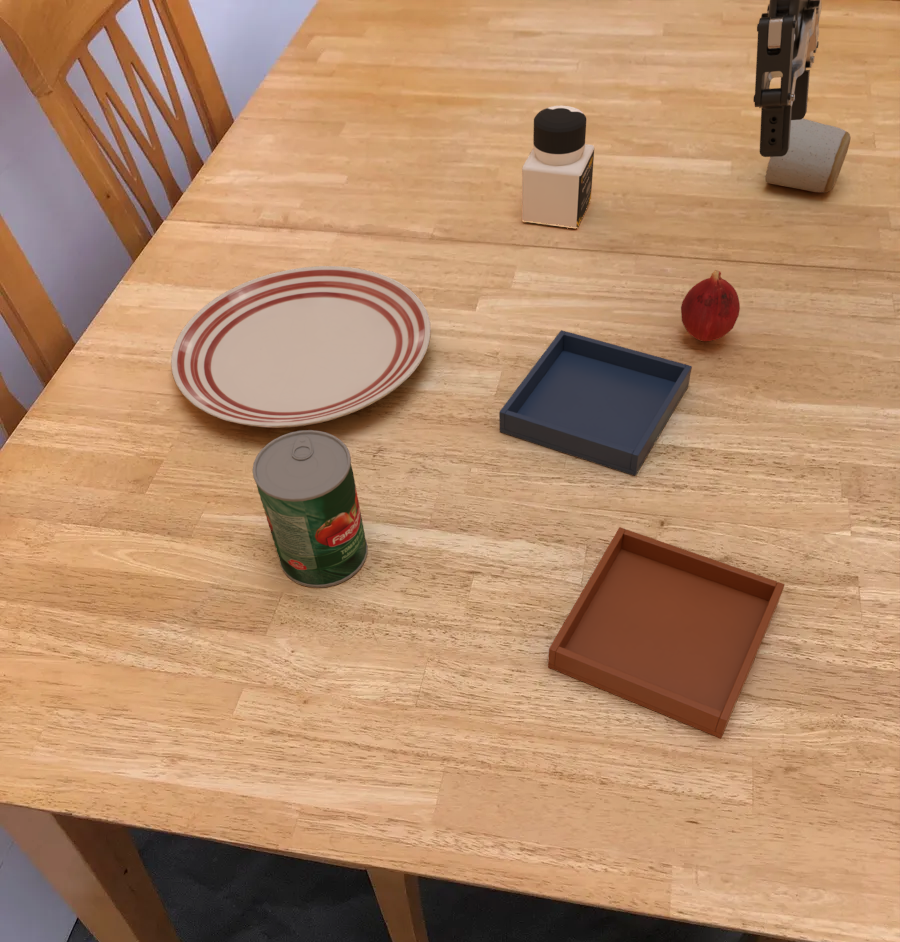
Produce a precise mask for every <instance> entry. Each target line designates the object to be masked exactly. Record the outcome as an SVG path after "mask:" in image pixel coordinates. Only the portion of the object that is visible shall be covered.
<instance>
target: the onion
mask: <svg viewBox="0 0 900 942" xmlns="http://www.w3.org/2000/svg"><path fill="white" fill-rule="evenodd" d="M740 305H741V303H740V299H739V295H738V292H737V291H736V289H735V287H734V286H733V285H732V284H731V283H730V282H729V281H727V280H726V279H724V278H722V271H720V270H718V269H714V271H713V272H712V273H711V274H710V276H709V277H708V278H704V279H702V280H701V281H699V282H697V283H696V284H694V285H693V286H691V288H690V289H689V290H688V292H687V293H686V295H684V298H683V300H682V301H681V305H680V312H681V322H682V324H683V327H684V328H685V330H686V332H687V333H688V334H689V335H690V336H692V338H694V339H696V340H698V341H701V342H711V341H715V340H719V339H721V338H723V337H725V336H726V335H727V334H729V332H731V330H733V329H734V327H735V325H736V322H737V320H738V318H739V316H740V310H741V306H740Z"/></svg>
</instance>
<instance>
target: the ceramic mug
mask: <svg viewBox="0 0 900 942" xmlns="http://www.w3.org/2000/svg"><path fill="white" fill-rule="evenodd" d="M850 143H851V134H850V133H849V131H847V130H845V129H843V128H840V127H838V126H834V125H829V124H825V123H821V122H817V121H814V120H810V119H807V118H802V119H800V120H791V128H790V144H789V149H788V152H787V153H786V155H784V156H780V157H769V161H768V164H767V167H766V172H765V182H766V183H767V184H771V185H775V186H781V187H786V188H791V189H798V190H802V191H808V192H813V193H828V192H830V191H831V190H833V188H835V187H834V186H835V185H836V183H837V179H838V178H839V175H840V173H841V170H842V167H843V165H844V162H845V159H846V156H847V154H848V150H849V147H850Z"/></svg>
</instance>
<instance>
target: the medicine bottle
mask: <svg viewBox="0 0 900 942" xmlns="http://www.w3.org/2000/svg"><path fill="white" fill-rule="evenodd" d="M586 133H587V116H586V115H585V114H584V112H583V111H582V110H581V109H579V108H577V107H573V106H570V105H552V106H549V107H546V108H543V109H542V110H540V111H539V112H537V114H536V115H535V116H534V118H533V139H532V140H533V142H532V143H533V145H532V149H531V151H530V153H529V155H528V156H527V158H526V160H525V162H524V163H523V165H522V168H521V221H522V220H524V221H533V222H541V223H546V224H547V223H548V224H556V225H558V224H559V225H564V226H569V227H571V226H572V227H578V226H579V227H580V225H579V224H581V223H580V221H581V222H582V220H583V218H584V216H585V214H584V213H586V212H587V209H588V207H589V205H590V203H591V201H590V199H591V200H592V189H593V175H594V174H593V173H594V162H595V161H594V159H595V145H593V144H588V143H587V144H586V137H587V136H586V135H587V134H586ZM589 202H590V203H589ZM588 204H589V205H588ZM586 208H587V209H586ZM585 211H586V212H585ZM583 215H584V216H583ZM582 217H583V218H582ZM581 219H582V220H581ZM579 227H578V228H579Z"/></svg>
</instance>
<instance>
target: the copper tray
mask: <svg viewBox="0 0 900 942" xmlns="http://www.w3.org/2000/svg"><path fill="white" fill-rule="evenodd" d="M784 588H785V583H782V582H780V581H777V580H774V579H772V578H768V577H766V576H762V575H759V574H756V573H753V572H750V571H748V570H745V569H743V568H739V567H736V566H734V565H730V564H728V563H725V562H722V561H719V560H716V559H713V558H710V557H708V556H704V555H702V554H699V553H696V552H693V551H690V550H687V549H684V548H681V547H679V546H676V545H672V544H670V543H667V542H664V541H661V540H658V539H656V538H652V537H650V536H647V535H644V534H641V533H638V532H635V531H633V530H630V529H626V528H625V527H620V526H619V527H618V529H617V531H616V532H615V534H614V536H613V538H612V539H611V541H610V542H609V544H608V546H607V547H606V549H605V551H604V553H603V554H602V556H601V558H600V560H599V562H598V563H597V565H596V566H595V568H594V570H593V572H592V574H591V575H590V577H589V579H588V580H587V582H586V584H585V586H583V589H582V591H581V593H580V594H579V596H578V598H577V600H576V601H575V603H574V605H573V606H572V608H571V609H570V611H569V613H568V615H567V617H566V619H564V622H563V624H562V625H561V627H560V628H559V631H558V632H557V634H556V636H555V638H554V639H553V641H552V642H551V645H550V646H549V648H548V657H547V658H548V659H547V662H548V663H547V668H549V669H552V670H554V671H556V672H558V673H561V674H564V675H566V676H568V677H571V678H573V679H576V680H578V681H580V682H583V683H585V684H588V685H590V686H592V687H595V688H597V689H600V690H602V691H605V692H607V693H610V694H612V695H615V696H617V697H619V698H622V699H624V700H626V701H629V702H632V703H634V704H637V705H639V706H642V707H643V708H646V709H647V710H648V709H649V710H650V711H654V712H656V713H659V714H661V715H663V716H665V717H668V718H670V719H672V720H675V721H678V722H680V723H683V724H685V725H687V726H689V727H692V728H694V729H697V730H700V731H702V732H703V733H706V734H709V735H711V736H714V737H717V738H719V739H722V738H723V735H724V733H725V731H726V728H727V726H728V723H729V721H730V719H731V716H732V714H733V711H734V709H735V707H736V705H737V703H738V700H739V697H740V695H741V692H742V690H743V688H744V686H745V683H746V681H747V679H748V676H749V673H750V671H751V668H752V666H753V665H754V661H755V659H756V657H757V655H758V652H759V650H760V647H761V645H762V643H763V640H764V637H765V635H766V633H767V630H768V629H769V626H770V624H771V621H772V619H773V616H774V614H775V612H776V609H777V607H778V605H779V602H780V599H781V596H782V594H783V591H784Z"/></svg>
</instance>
